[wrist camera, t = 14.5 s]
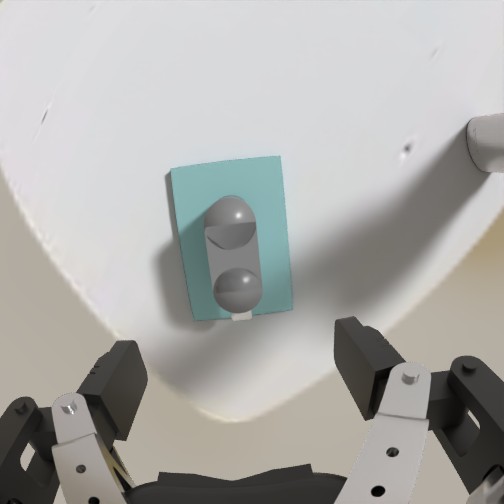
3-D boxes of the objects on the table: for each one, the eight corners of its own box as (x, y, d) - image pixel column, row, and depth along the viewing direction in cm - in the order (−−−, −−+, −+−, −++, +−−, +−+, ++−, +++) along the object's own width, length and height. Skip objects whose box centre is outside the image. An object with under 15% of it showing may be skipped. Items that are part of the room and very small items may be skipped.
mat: (279, 156, 30) (280, 155, 29) (291, 307, 34) (292, 309, 33) (171, 169, 29) (170, 168, 29) (195, 318, 34) (194, 321, 33)
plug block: (249, 193, 30) (253, 195, 23) (259, 298, 33) (266, 326, 26) (208, 197, 30) (200, 201, 23) (222, 302, 32) (219, 331, 26)
